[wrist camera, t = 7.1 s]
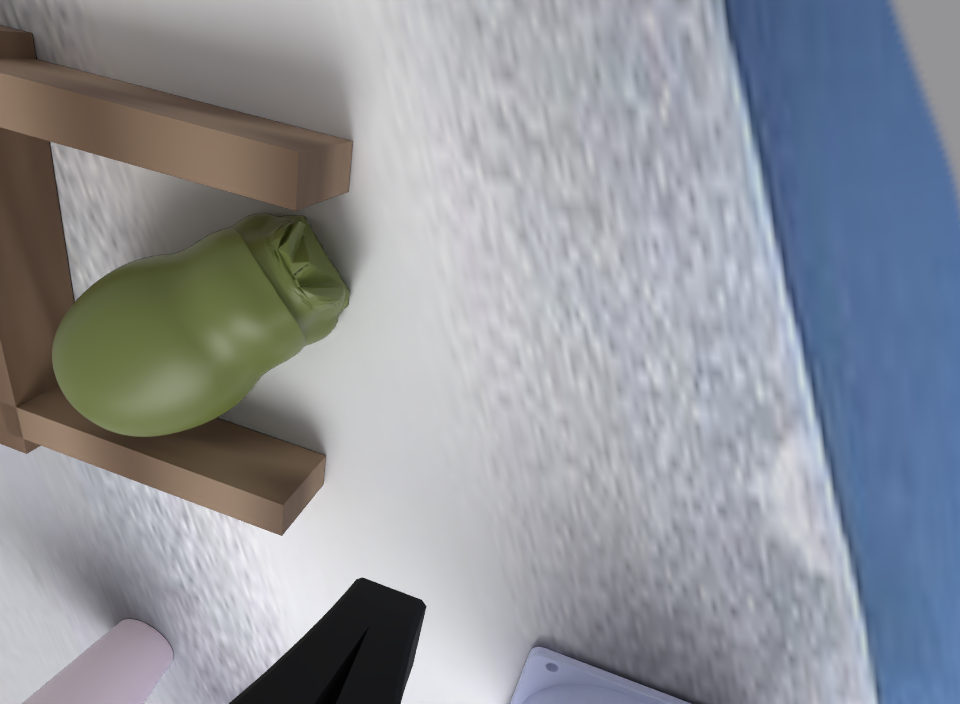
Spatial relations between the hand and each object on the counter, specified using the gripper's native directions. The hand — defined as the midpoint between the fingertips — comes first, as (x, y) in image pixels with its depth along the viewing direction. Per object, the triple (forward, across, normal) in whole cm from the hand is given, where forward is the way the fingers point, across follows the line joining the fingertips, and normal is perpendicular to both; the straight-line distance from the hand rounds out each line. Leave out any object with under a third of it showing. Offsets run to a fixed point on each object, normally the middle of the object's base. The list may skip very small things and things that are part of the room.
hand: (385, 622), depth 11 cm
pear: (+10, +10, 0) cm, 14 cm away
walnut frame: (+9, +12, 0) cm, 15 cm away
